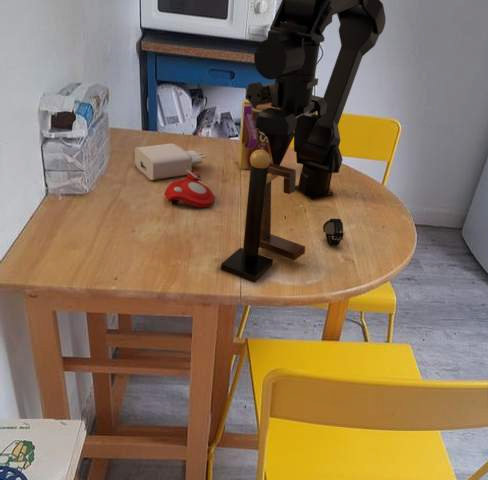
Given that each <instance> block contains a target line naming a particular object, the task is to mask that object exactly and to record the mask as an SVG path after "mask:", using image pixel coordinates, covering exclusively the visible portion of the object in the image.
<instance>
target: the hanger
mask: <svg viewBox="0 0 488 480" xmlns="http://www.w3.org/2000/svg"><path fill="white" fill-rule="evenodd" d="M269 173H272V174H275V175H279V176H278V177H282V178H283V193H284V194H286V195H291V194H293V193H295V192H296V189H295V186H296V179H297V178H296V177H297V176H296V175H297V174H296V173H297V169H294V168H290V167H286V166H284V165H283V166H282V165H280V166H279V165H275V164H272V163H270V164H269V166H268V174H269ZM271 227H272V181H270V182H269V183H268V184H266V191H265V200H264V209H263V218H262V227H261V235H260V244H259V249H262V250H264V251H267V252H270V253H272V254H275V255H278V256H281V257H283V258H285V259H287V260H288V259H289V260H291V261H296V260H297V259H299V258H300V257H302V256H303V255H304V254H305V253H306V245H303V244H300V243H297V242H295V241H291V240H289V239H286V238H283V237H280V236H277V235H275V234H272V233H271V232H272V230H271V229H272V228H271Z"/></svg>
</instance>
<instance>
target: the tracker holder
mask: <svg viewBox="0 0 488 480" xmlns="http://www.w3.org/2000/svg"><path fill="white" fill-rule="evenodd" d="M186 171H187V172H188V174H187V175H186V177H185V178H182V179H178V180H175V181H173V182H171V183H170V184H168V186H167V187H166V189H165V191H164V196H165V197H166V200H167V202H169V203H171V202H173V201H177V200H178V201H180V202H183V203H186V204H187V205H191V206H193V207H194V206H195V207H197V208H208V207H211V206H212V204H213V203H214V200H215V199H214V198H215V197H214V193H213V192H212V190H211V189H210V188H209V187H207V186H206V185H204V184H203V183H201V182H202V178H200V177H201V175H200V174H198V173H197V172H195V171H192V170H191V171H189V170H186Z"/></svg>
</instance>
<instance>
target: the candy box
mask: <svg viewBox="0 0 488 480" xmlns="http://www.w3.org/2000/svg"><path fill="white" fill-rule="evenodd" d="M267 108H274V109H278V110H280V108H275V107H271V103H268V104H262V105H258V106H256V107H252V105H251V103H250V102H249V101H248V100H247V99H245V98H244V99H242V102H241V111H240V112H241V115H240V127H239V130H240V131H239V142H238V143H239V145H238V156H237V157H238V159H237V163H238V167H239V169H240V170H250V169H251V163H250V157H251V155H252V153H253V152H254V151H256V150H264V151H266V152H267V153H268V154H269V156H270V163H272V164H273V160H272V155H271V150H270V145H269V141H268V138H267V137H266V135H265V134H264V133H263V132H260V131H259V130H258V129H257V128H255V127H254V125H255V116H256V115H257V114H258V113H259V112H261V111H263V110H265V109H267Z"/></svg>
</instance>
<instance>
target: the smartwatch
mask: <svg viewBox="0 0 488 480" xmlns="http://www.w3.org/2000/svg"><path fill="white" fill-rule="evenodd" d="M343 225H344V223H343V222H342V219H341V218H329V220H326V222H324V223H323V225H322V230H323V233H325V239H326V241H327V245H328V246H336V247H337V246H339V245H340V244H341V241H342V240H343V238H344V235H345V234H344V226H343Z"/></svg>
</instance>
